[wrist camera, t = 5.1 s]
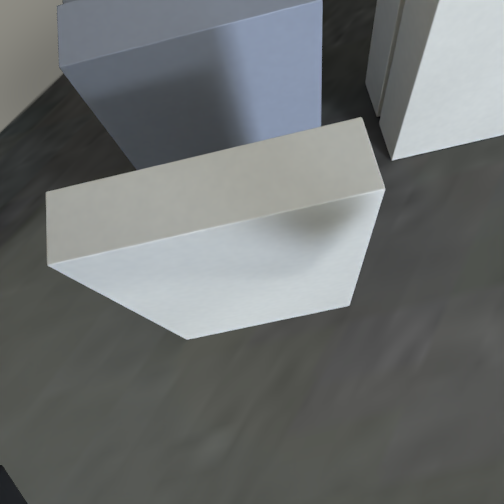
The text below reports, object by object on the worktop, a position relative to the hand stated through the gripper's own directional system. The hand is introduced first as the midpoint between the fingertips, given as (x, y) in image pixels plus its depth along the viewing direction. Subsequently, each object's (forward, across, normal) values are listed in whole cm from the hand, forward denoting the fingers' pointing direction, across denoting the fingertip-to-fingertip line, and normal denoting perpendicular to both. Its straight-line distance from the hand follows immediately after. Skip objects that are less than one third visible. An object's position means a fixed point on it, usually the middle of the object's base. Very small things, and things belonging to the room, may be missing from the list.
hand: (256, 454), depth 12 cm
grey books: (+25, 0, +5) cm, 25 cm away
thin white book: (+15, 0, -5) cm, 16 cm away
